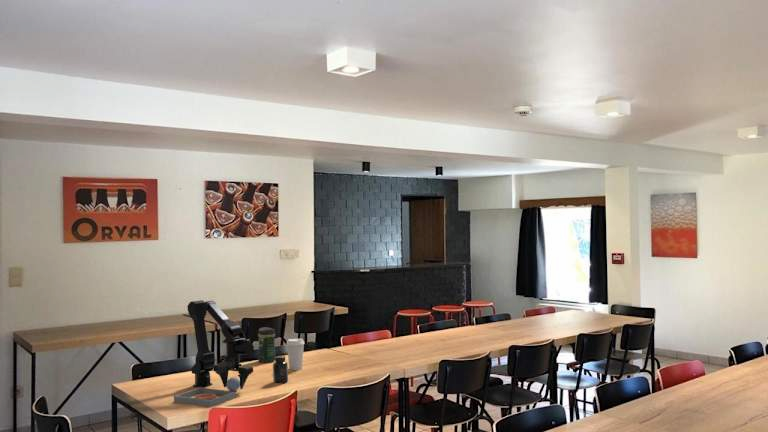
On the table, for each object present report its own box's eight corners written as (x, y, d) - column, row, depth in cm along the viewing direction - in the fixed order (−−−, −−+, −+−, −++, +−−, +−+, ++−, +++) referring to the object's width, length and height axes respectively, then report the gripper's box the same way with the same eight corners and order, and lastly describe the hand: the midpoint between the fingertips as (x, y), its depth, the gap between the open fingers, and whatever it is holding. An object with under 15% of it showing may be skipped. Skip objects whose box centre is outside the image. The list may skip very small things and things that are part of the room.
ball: (223, 391, 288) (223, 378, 288) (232, 388, 293) (232, 375, 293) (234, 393, 285) (234, 379, 285) (242, 389, 291) (242, 376, 291)
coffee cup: (301, 371, 327) (301, 341, 328) (283, 370, 329) (283, 341, 330) (307, 367, 337) (307, 338, 337) (290, 366, 339) (289, 338, 339)
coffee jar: (277, 361, 352) (277, 327, 353) (264, 363, 347) (264, 329, 348) (269, 359, 360) (268, 325, 360) (256, 360, 355) (255, 327, 355)
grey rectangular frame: (173, 401, 272) (173, 396, 272) (200, 393, 286) (200, 387, 286) (210, 407, 263) (210, 400, 263) (236, 397, 277) (235, 391, 277)
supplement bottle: (288, 380, 308) (288, 355, 308) (287, 383, 301) (286, 357, 301) (274, 380, 308) (274, 355, 308) (272, 384, 301) (272, 358, 301)
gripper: (204, 355, 287) (204, 390, 286) (237, 358, 278) (238, 394, 278) (221, 350, 296) (221, 384, 296) (253, 353, 288) (254, 388, 288)
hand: (233, 388), depth 289 cm, fingers open, 9 cm apart
